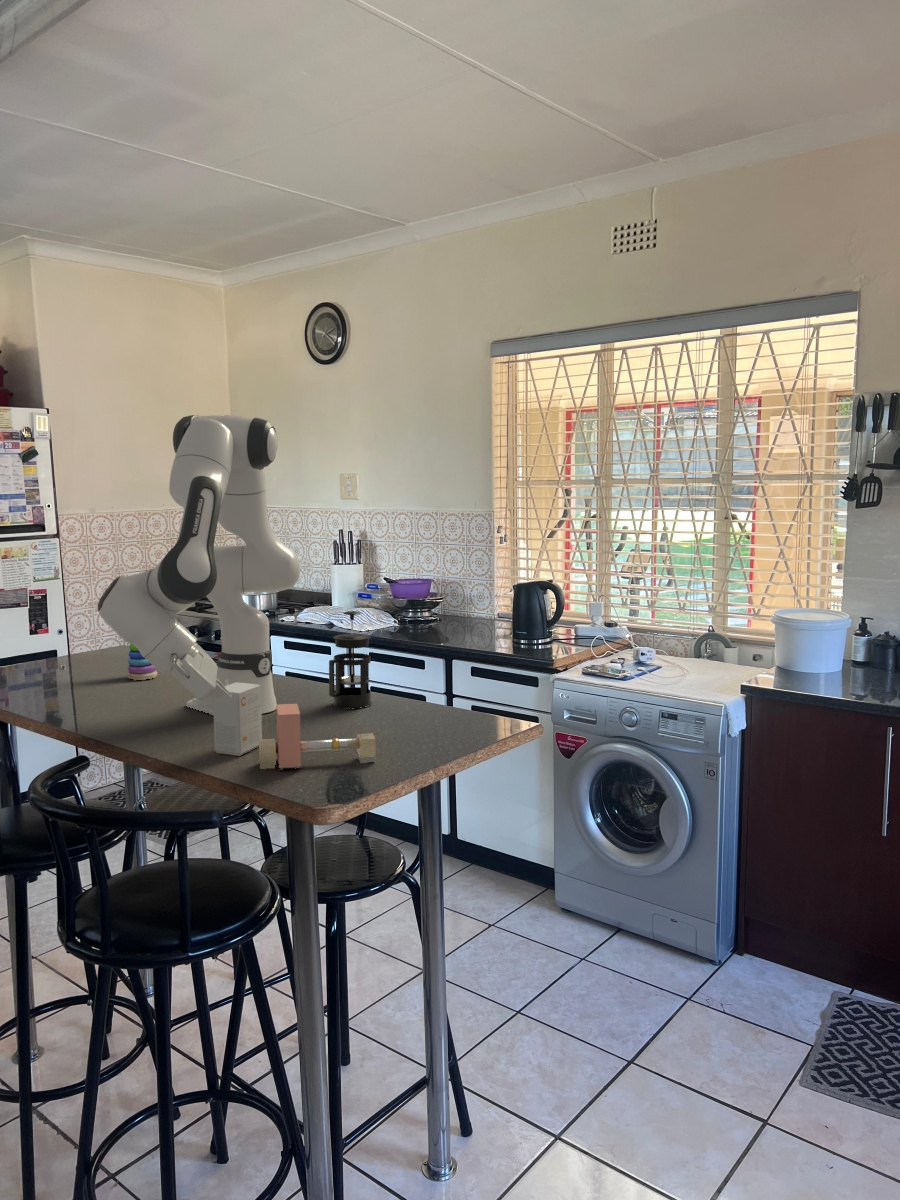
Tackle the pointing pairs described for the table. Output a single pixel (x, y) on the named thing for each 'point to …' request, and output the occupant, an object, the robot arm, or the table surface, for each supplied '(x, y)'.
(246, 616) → the robot arm
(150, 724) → the table surface
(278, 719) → the collar
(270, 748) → the pipe rig
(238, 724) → the small box
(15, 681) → the table surface
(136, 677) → the stacking toy
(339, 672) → the french press
